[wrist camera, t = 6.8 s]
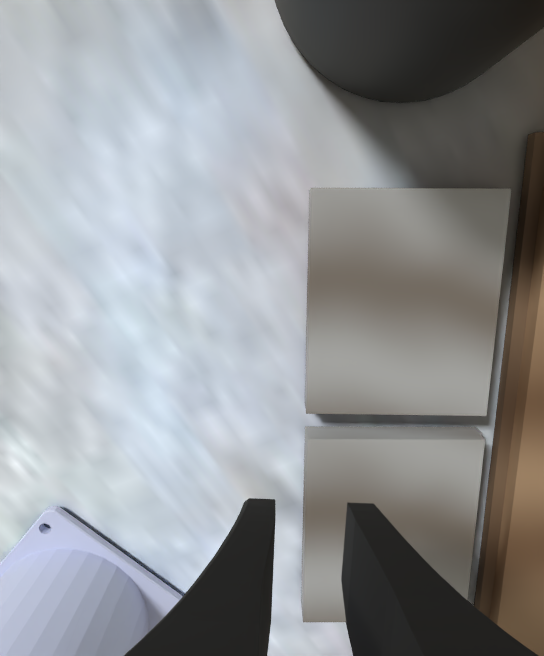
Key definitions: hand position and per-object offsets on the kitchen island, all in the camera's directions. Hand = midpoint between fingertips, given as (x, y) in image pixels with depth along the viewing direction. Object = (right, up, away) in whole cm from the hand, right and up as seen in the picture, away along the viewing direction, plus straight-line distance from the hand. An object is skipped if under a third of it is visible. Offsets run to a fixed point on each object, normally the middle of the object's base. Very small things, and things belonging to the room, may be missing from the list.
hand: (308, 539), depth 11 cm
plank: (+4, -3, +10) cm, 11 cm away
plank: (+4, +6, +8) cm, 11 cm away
